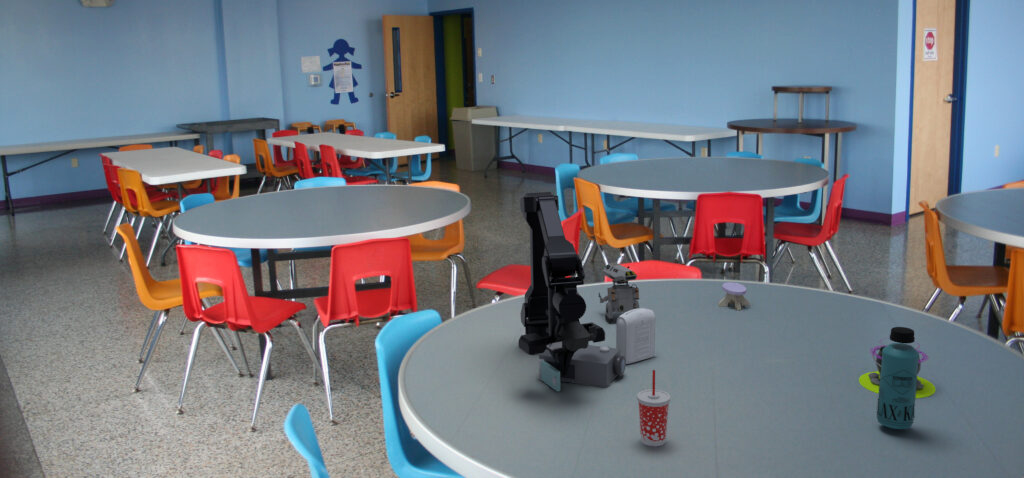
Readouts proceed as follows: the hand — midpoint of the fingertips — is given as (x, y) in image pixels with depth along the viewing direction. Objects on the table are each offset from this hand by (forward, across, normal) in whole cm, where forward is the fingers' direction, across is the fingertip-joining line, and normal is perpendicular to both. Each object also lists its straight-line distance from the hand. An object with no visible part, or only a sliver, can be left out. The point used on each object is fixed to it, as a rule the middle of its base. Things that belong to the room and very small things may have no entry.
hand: (562, 375), depth 176 cm
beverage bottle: (+3, +45, -48) cm, 66 cm away
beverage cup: (+3, +2, -31) cm, 31 cm away
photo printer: (+3, +23, +7) cm, 24 cm away
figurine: (+3, +37, +35) cm, 51 cm away
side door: (+3, -2, +2) cm, 4 cm away
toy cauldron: (+3, +63, -34) cm, 72 cm away
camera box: (+3, +7, +4) cm, 9 cm away
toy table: (+3, +72, +29) cm, 77 cm away
